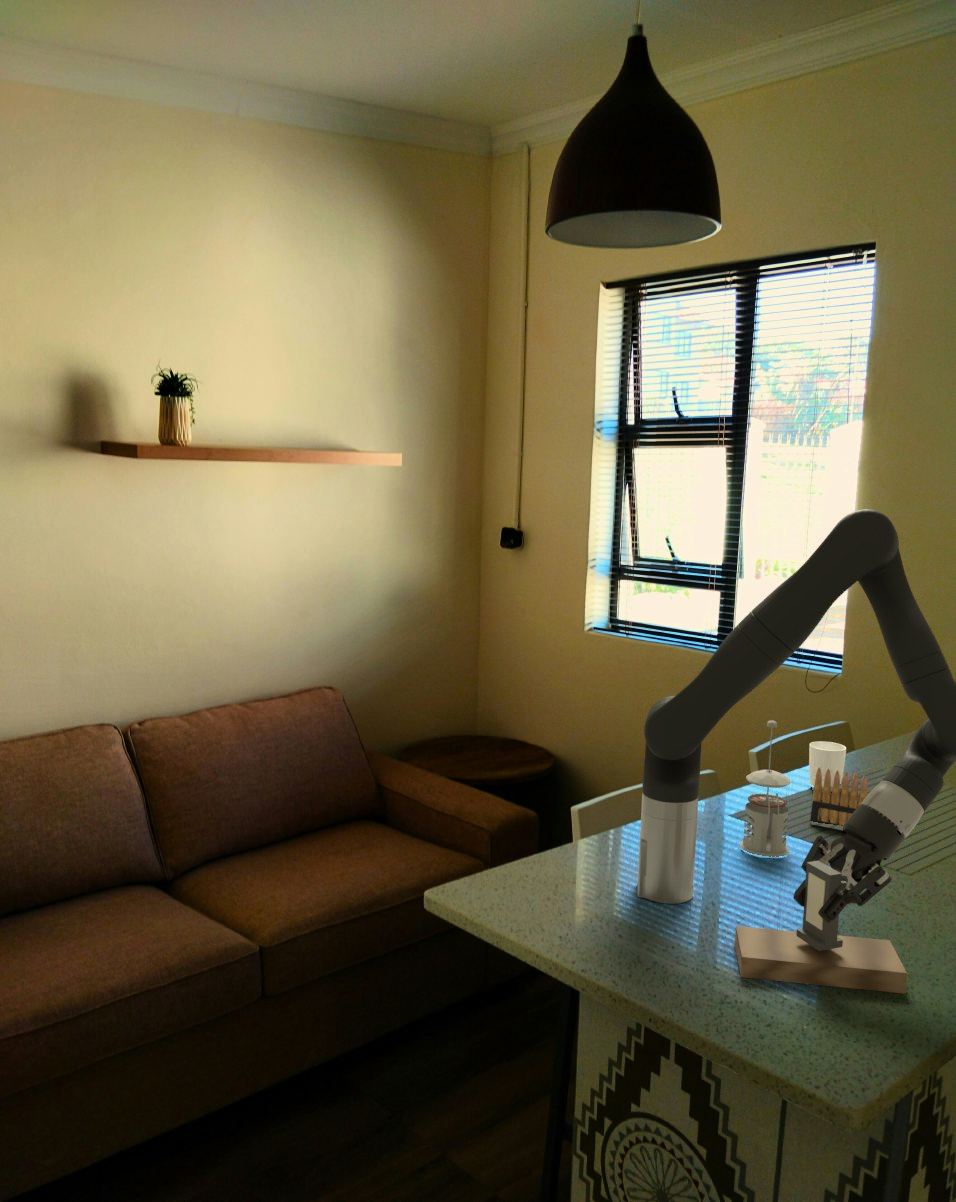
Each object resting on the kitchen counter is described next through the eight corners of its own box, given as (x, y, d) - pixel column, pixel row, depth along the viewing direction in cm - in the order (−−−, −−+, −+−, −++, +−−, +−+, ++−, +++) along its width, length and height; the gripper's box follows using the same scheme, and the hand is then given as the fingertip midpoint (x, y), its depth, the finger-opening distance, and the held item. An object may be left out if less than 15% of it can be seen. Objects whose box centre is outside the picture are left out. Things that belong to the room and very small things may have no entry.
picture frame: (819, 951, 143) (824, 876, 141) (796, 935, 147) (800, 863, 146) (842, 947, 144) (847, 872, 143) (818, 932, 149) (823, 859, 147)
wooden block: (740, 977, 143) (742, 957, 143) (734, 945, 153) (735, 926, 152) (905, 993, 139) (906, 973, 139) (888, 959, 149) (889, 940, 149)
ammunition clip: (866, 833, 203) (870, 774, 201) (864, 835, 201) (868, 777, 199) (811, 822, 208) (815, 765, 207) (809, 824, 207) (813, 767, 205)
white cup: (846, 787, 232) (849, 745, 231) (838, 796, 225) (841, 752, 224) (811, 781, 236) (814, 739, 235) (802, 790, 229) (805, 746, 228)
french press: (785, 841, 197) (793, 715, 194) (798, 864, 185) (807, 730, 182) (733, 838, 198) (741, 713, 194) (743, 861, 186) (751, 728, 183)
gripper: (836, 789, 152) (764, 876, 150) (907, 820, 139) (830, 916, 136) (862, 819, 155) (792, 905, 152) (934, 853, 142) (859, 947, 139)
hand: (810, 910), depth 144 cm, fingers closed on picture frame, 5 cm apart
